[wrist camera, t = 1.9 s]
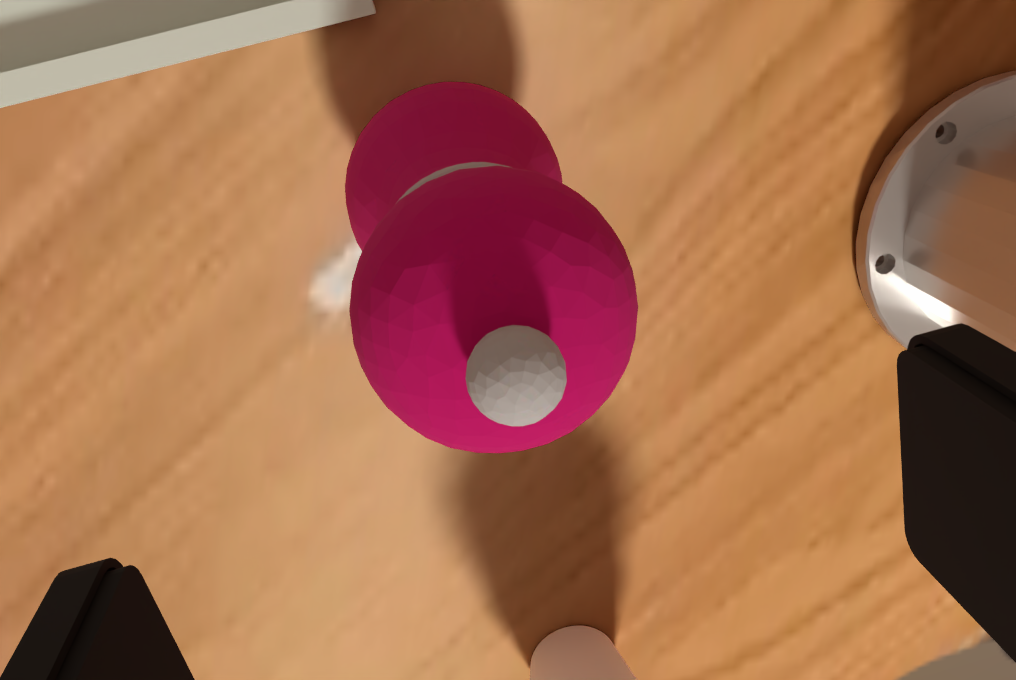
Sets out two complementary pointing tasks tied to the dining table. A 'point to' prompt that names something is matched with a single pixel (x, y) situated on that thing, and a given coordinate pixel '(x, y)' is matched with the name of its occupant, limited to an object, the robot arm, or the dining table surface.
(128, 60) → the tray
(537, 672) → the soft serve ice cream cone
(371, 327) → the pepper mill
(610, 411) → the dining table surface
